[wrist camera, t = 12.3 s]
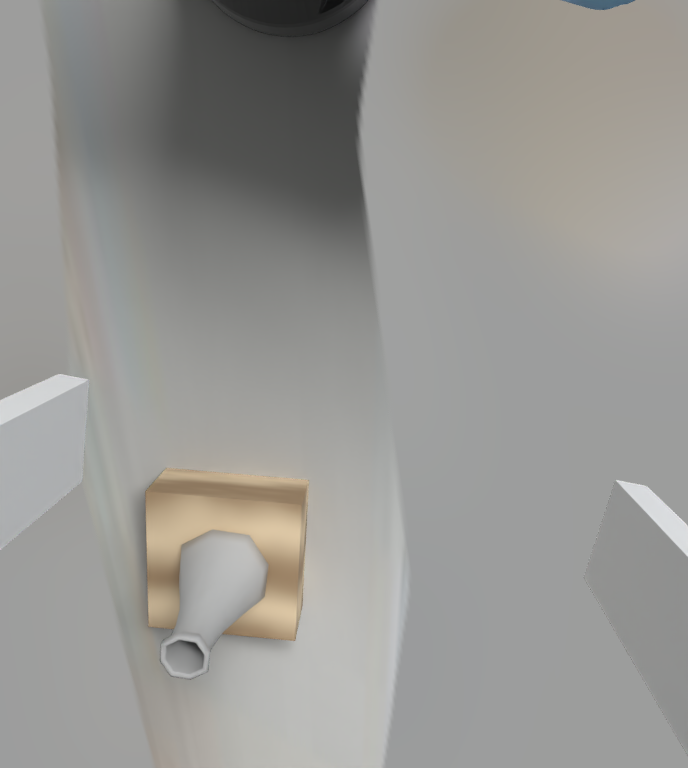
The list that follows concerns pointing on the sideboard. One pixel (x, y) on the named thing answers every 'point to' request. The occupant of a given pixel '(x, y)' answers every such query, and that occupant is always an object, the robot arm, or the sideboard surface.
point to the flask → (212, 597)
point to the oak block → (237, 515)
